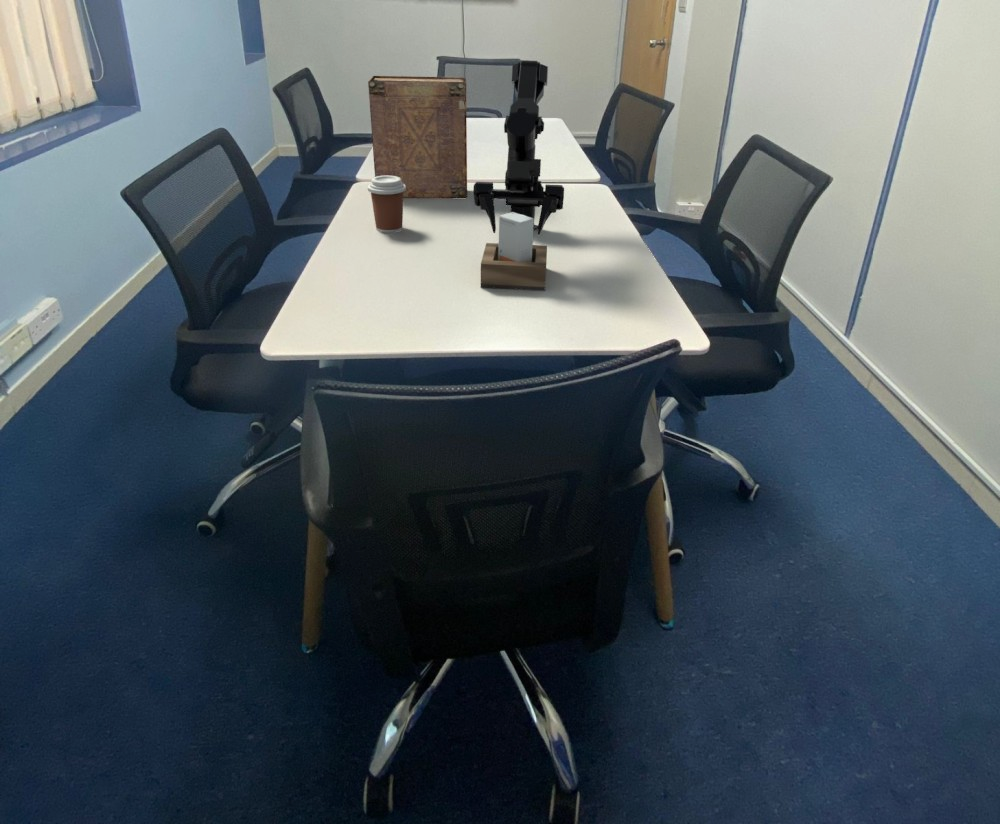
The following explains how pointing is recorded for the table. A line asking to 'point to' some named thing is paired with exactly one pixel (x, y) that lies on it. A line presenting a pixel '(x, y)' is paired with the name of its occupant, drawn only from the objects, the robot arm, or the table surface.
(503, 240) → the skincare box
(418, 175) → the book
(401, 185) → the coffee cup
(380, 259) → the table surface
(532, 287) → the socket block
